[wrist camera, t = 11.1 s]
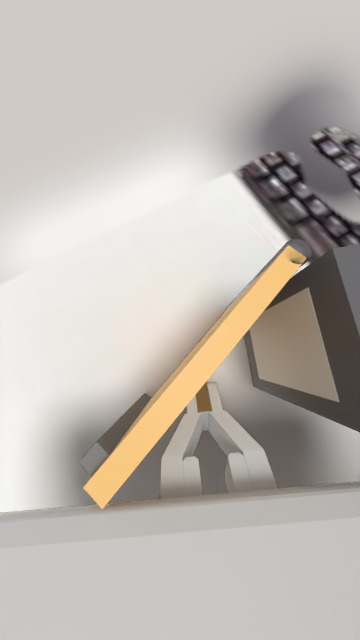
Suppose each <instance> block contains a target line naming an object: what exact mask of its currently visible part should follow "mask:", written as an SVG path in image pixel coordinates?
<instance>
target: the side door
mask: <svg viewBox="0 0 360 640" xmlns="http://www.w3.org/2000/svg"><path fill="white" fill-rule="evenodd" d="M310 257H311V248H310V246H309V245H308V244H307V243H306V242H304V241H303V240H300V239H292V240H290V241H288V242H287V243H286V244H285V245H284V246H283V247H282V248H281V249H280V250H279V251H278V253H277V254H276V255H275V256H274V257H273V258H272V259H271V260H270V261H269V262H268V263H267V264H266V266H265V267H264V268H263V269H262V270H261V271H260V272H259V273H258V274H257V275H256V276H255V277H254V279H253V280H252V281H251V282H250V283H249V284H248V285H247V286H246V287H245V288H244V289H243V290H242V292H241V293H240V294H239V295H238V296H237V297H236V298H235V299H234V300H233V301H232V302H231V303H230V305H229V306H228V307H227V308H226V311H225V312H224V313H223V314H222V316H221V317H220V318H219V319H218V320H217V321H216V323H215V324H214V325H213V326H212V327H211V328H210V330H209V331H208V332H207V333H206V334H205V336H204V337H203V338H202V339H201V340H200V341H199V343H198V344H197V345H196V346H195V347H194V348H193V350H192V351H191V352H190V353H189V354H188V355H187V357H186V358H185V359H184V360H183V361H182V363H181V364H180V365H179V366H178V367H177V368H176V370H175V371H174V372H173V373H172V374H171V375H170V377H169V378H168V379H167V380H166V381H165V382H164V384H163V385H162V386H161V387H160V388H159V390H158V391H157V392H156V393H155V394H154V395H153V397H152V398H151V399H150V398H149V397H148V396H147V395H146V394H144V395H143V396H142V397H141V398H140V399H139V400H138V401H137V402H136V403H135V404H134V405H133V406H132V407H131V408H130V409H129V410H128V411H127V412H126V413H125V414H124V415H123V416H122V417H121V418H120V419H119V420H118V421H117V422H116V423H115V424H114V425H113V426H112V427H111V428H110V429H109V430H108V431H107V432H106V433H105V434H104V435H103V436H102V437H101V438H100V439H99V440H98V441H97V442H96V443H95V444H94V445H93V447H92V448H91V449H90V450H89V451H88V452H87V453H86V455H85V456H84V457H83V458H82V459H81V460H80V461H79V464H80V465H81V466H82V467H83V468H84V469H85V470H86V471H87V473H88V474H89V475H90V476H91V478H90V479H89V481H88V482H87V483H86V485H85V486H84V487H83V488H84V490H85V491H86V492H87V493H88V494H89V495H90V496H91V497H92V499H93V500H94V501H95V502H96V503H97V504H98V505H99V506H100V508H101V509H103V508H104V507H105V505H106V504H107V503H108V502H109V500H110V499H111V498H112V497H113V496H114V494H115V493H116V492H117V491H118V489H119V488H120V487H121V486H122V484H123V483H124V482H125V481H126V480H127V478H128V477H129V476H130V475H131V473H132V472H133V471H134V470H135V469H136V467H137V466H138V465H139V464H140V462H141V461H142V460H143V459H144V457H145V456H146V455H147V454H148V453H149V451H150V450H151V449H152V448H153V446H154V445H155V444H156V443H157V441H158V440H159V439H160V438H161V437H162V435H163V434H164V433H165V432H166V430H167V429H168V428H169V427H170V426H171V424H172V423H173V422H174V421H175V419H176V418H177V417H178V416H179V414H180V413H181V412H182V411H183V410H184V408H185V407H186V406H187V405H188V403H189V402H190V401H191V400H192V398H193V397H194V396H195V395H196V394H197V392H198V391H199V390H200V389H201V387H202V386H203V385H204V384H205V382H206V381H207V380H208V379H209V378H210V376H211V375H212V374H213V373H214V371H215V370H216V369H217V368H218V367H219V365H220V364H221V363H222V362H223V360H224V359H225V358H226V357H227V355H228V354H229V353H230V352H231V351H232V349H233V348H234V347H235V346H236V344H237V343H238V342H239V341H240V339H241V338H242V337H243V336H244V335H245V333H246V332H247V331H248V330H249V328H250V327H251V326H252V325H253V323H254V322H255V321H256V320H257V319H258V317H259V316H260V315H261V314H262V312H263V311H264V310H265V309H266V308H267V306H268V305H269V304H270V303H271V301H272V300H273V299H274V298H275V296H276V295H277V294H278V293H279V292H280V290H281V289H282V288H283V287H284V285H285V284H286V283H287V282H288V280H289V279H290V278H291V277H292V276H293V274H294V273H295V272H296V271H297V269H298V268H299V267H301V266H302V265H303V264H305V263H306V262H307V261H308V260H309V259H310Z"/></svg>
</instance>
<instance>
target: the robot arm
mask: <svg viewBox="0 0 360 640" xmlns="http://www.w3.org/2000/svg"><path fill="white" fill-rule="evenodd" d="M186 407H187V414H184V415H183V417H182V419H181V421H180V423H179V425H178V427H177V429H176V431H175V433H174V435H173V437H172V439H171V440H170V442H169V444H168V446H167V448H166V450H165V452H164V454H163V456H162V458H161V482H160V499H150V500H139V501H128V502H116V503H107V504H106V505H105V507H104V508H103V509H101V508H100V506H99V505H98V504H93V505H82V506H71V507H59V508H48V509H37V510H25V511H14V512H2V513H0V640H360V481H355V482H344V483H332V484H321V485H310V486H298V487H287V488H278V486H277V483H276V481H275V478H274V475H273V473H272V470H271V467H270V465H269V462H268V459H267V457H266V454H265V451H264V449H263V448H262V447H261V446H260V445H259V444H258V443H257V442H256V441H255V440H254V439H253V438H252V437H251V436H250V435H249V433H248V432H247V431H246V430H245V429H244V428H243V427H242V426H241V425H240V424H239V423H238V422H237V421H236V420H235V419H234V418H233V417H232V416H231V415H230V414H229V413H228V412H227V411H226V410H223V407H222V403H221V399H220V396H219V392H218V388H217V384H216V382H205V384H204V385H203V386H202V387H201V389H200V390H199V391H198V392H197V394H196V395H195V396H194V397H193V398H192V400H191V401H190V402H189V403H188V405H187V406H186ZM208 430H209V432H210V434H211V435H212V436H213V438H214V439H215V441H216V442H217V443H218V445H219V446H220V448H221V449H222V450H223V452H224V453H225V455H226V456H227V457H228V460H227V466H226V471H225V482H226V487H227V492H228V493H219V494H207V495H203V493H202V484H201V476H200V468H199V459H197V458H196V457H195V456H193V455H194V452H195V449H196V447H197V444H198V441H199V438H200V436H201V433H202V431H208Z"/></svg>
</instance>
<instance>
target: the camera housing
mask: <svg viewBox="0 0 360 640" xmlns="http://www.w3.org/2000/svg"><path fill="white" fill-rule="evenodd" d="M244 337H245V343H246V348H247V353H248V358H249V364H250V369H251V374H252V380H253V385H254V387H256V388H258V389H261V390H263V391H265V392H268V393H270V394H272V395H274V396H277V397H279V398H281V399H284V400H286V401H288V402H291V403H293V404H295V405H298V406H300V407H302V408H305V409H307V410H309V411H312V412H314V413H316V414H319V415H321V416H323V417H326V418H328V419H330V420H333V421H335V422H337V423H340V424H342V425H344V426H346V427H349V428H351V429H353V430H356V431H358V432H360V245H357V246H348V247H340V248H332V249H331V250H330V251H328V252H327V253H325V254H324V255H323V256H321V257H320V258H318V259H317V260H316V261H314V262H313V263H311V264H310V265H309V266H307V267H306V268H304V269H303V270H302V271H300V272H299V273H297V274H296V275H295V276H293V277H292V278H290V279H289V280H288V282H287V283H286V284H285V285H284V287H283V288H282V289H281V290H280V292H279V293H278V294H277V295H276V296H275V298H274V299H273V300H272V301H271V303H270V304H269V305H268V306H267V308H266V309H265V310H264V311H263V312H262V314H261V315H260V316H259V317H258V319H257V320H256V321H255V322H254V323H253V325H252V326H251V327H250V328H249V330H248V331H247V332H246V333H245V335H244Z"/></svg>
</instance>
